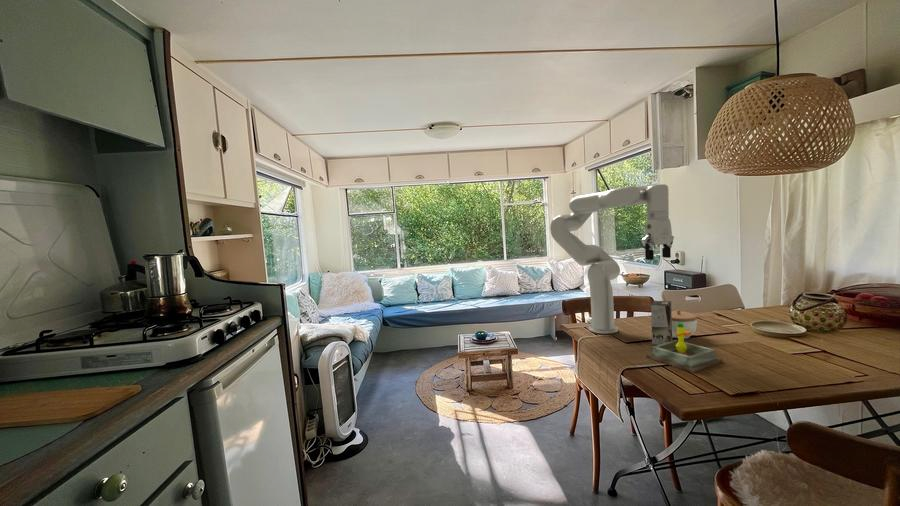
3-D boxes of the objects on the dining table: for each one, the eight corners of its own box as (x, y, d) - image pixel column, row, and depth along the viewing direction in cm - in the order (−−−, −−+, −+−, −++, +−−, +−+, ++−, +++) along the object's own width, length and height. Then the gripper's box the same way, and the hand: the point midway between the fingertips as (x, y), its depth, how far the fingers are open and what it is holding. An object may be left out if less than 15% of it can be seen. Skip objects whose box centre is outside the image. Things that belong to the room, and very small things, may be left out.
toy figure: (687, 353, 124) (686, 320, 123) (695, 356, 121) (695, 322, 120) (671, 355, 123) (670, 322, 122) (679, 359, 119) (678, 325, 119)
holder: (646, 357, 126) (645, 346, 125) (675, 348, 132) (674, 338, 132) (692, 372, 111) (692, 360, 111) (722, 361, 117) (722, 350, 117)
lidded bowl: (694, 342, 137) (694, 315, 136) (658, 337, 145) (657, 311, 145) (700, 334, 146) (699, 308, 145) (665, 330, 154) (664, 305, 154)
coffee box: (670, 346, 134) (669, 305, 133) (651, 344, 138) (650, 304, 137) (673, 340, 141) (671, 300, 140) (654, 337, 145) (653, 299, 144)
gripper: (650, 216, 132) (651, 261, 133) (681, 214, 139) (681, 257, 140) (633, 217, 139) (634, 260, 140) (663, 215, 146) (664, 256, 147)
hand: (658, 258), depth 140 cm, fingers open, 9 cm apart
